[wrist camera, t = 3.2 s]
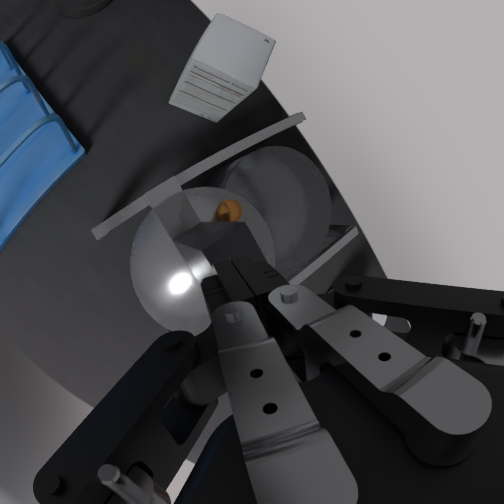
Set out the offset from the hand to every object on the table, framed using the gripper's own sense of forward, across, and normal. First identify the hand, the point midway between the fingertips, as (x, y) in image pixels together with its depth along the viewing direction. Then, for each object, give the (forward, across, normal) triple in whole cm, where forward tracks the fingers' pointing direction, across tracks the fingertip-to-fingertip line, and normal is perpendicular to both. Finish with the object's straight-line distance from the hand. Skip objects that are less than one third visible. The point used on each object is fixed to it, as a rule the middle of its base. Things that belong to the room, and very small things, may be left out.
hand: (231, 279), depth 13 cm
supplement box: (+29, -5, -13) cm, 33 cm away
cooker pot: (+25, -3, +5) cm, 26 cm away
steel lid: (+14, 0, +5) cm, 15 cm away
